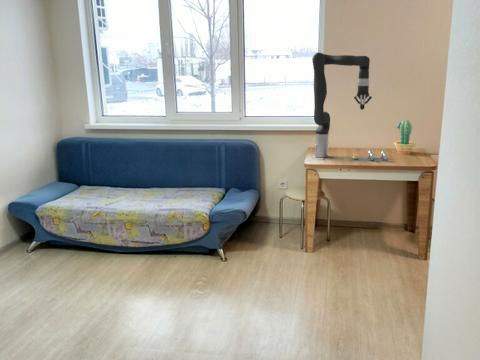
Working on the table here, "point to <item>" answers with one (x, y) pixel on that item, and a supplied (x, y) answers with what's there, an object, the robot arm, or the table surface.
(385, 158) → the cylinder
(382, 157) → the spacer back right
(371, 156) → the cylinder
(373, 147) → the table surface
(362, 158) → the mat
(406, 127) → the potted cactus
